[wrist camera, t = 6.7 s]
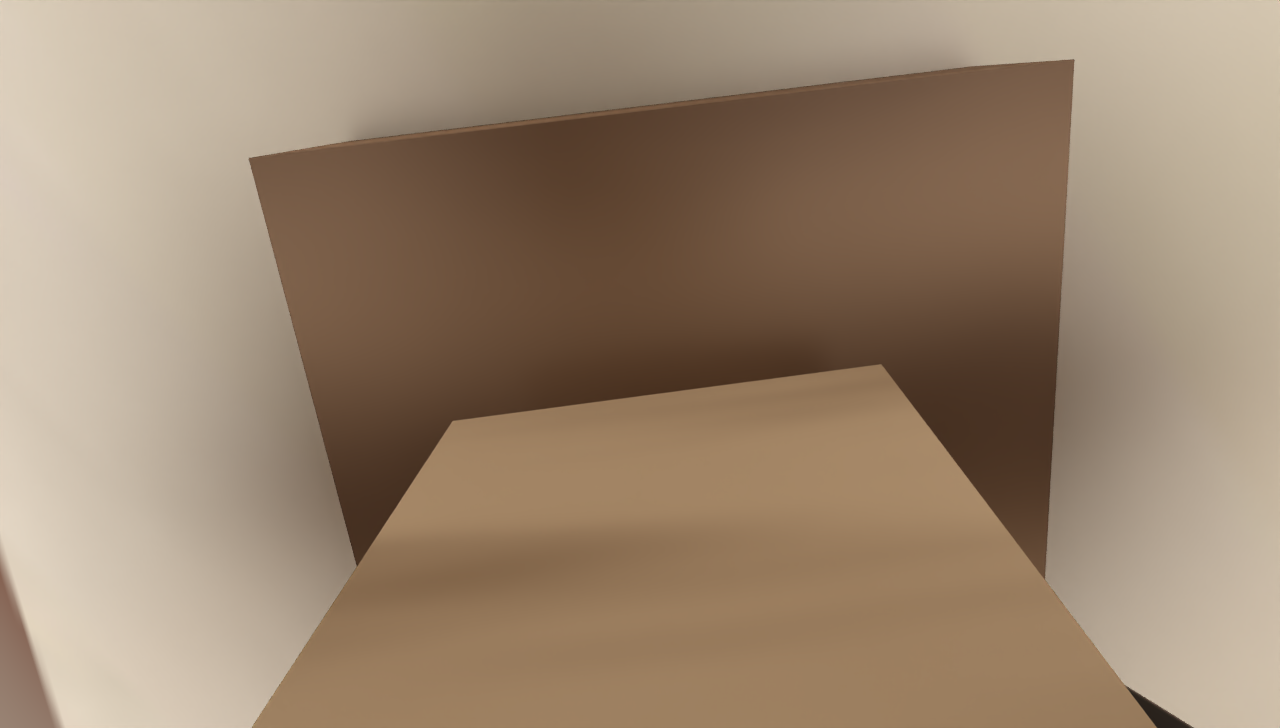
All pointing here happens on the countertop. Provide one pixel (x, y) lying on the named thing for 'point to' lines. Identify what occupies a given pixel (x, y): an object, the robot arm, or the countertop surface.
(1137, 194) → the countertop surface
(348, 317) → the walnut block
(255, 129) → the countertop surface
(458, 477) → the maple block
